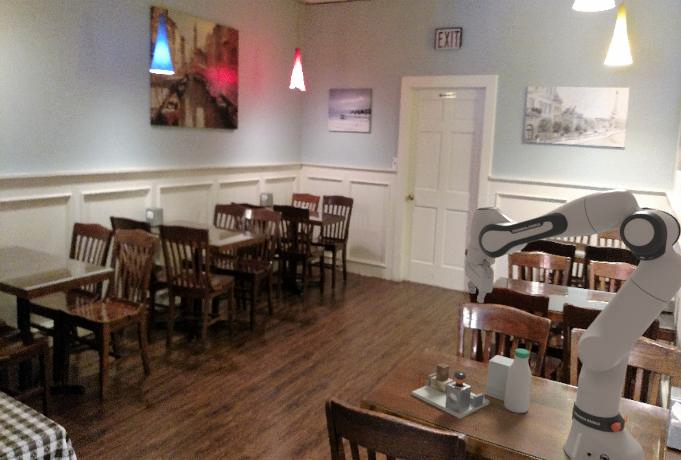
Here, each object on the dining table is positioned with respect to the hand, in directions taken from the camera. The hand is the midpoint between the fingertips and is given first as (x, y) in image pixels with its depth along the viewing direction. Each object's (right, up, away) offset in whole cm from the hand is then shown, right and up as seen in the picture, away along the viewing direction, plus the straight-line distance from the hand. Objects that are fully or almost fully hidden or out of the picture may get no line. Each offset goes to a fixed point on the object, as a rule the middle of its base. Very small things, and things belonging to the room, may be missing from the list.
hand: (476, 297), depth 182 cm
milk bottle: (+14, -37, +2) cm, 40 cm away
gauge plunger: (-7, -32, -3) cm, 33 cm away
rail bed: (-7, -35, +6) cm, 36 cm away
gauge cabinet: (-7, -37, -2) cm, 37 cm away
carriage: (-9, -33, +11) cm, 36 cm away
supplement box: (+11, -35, +11) cm, 39 cm away
